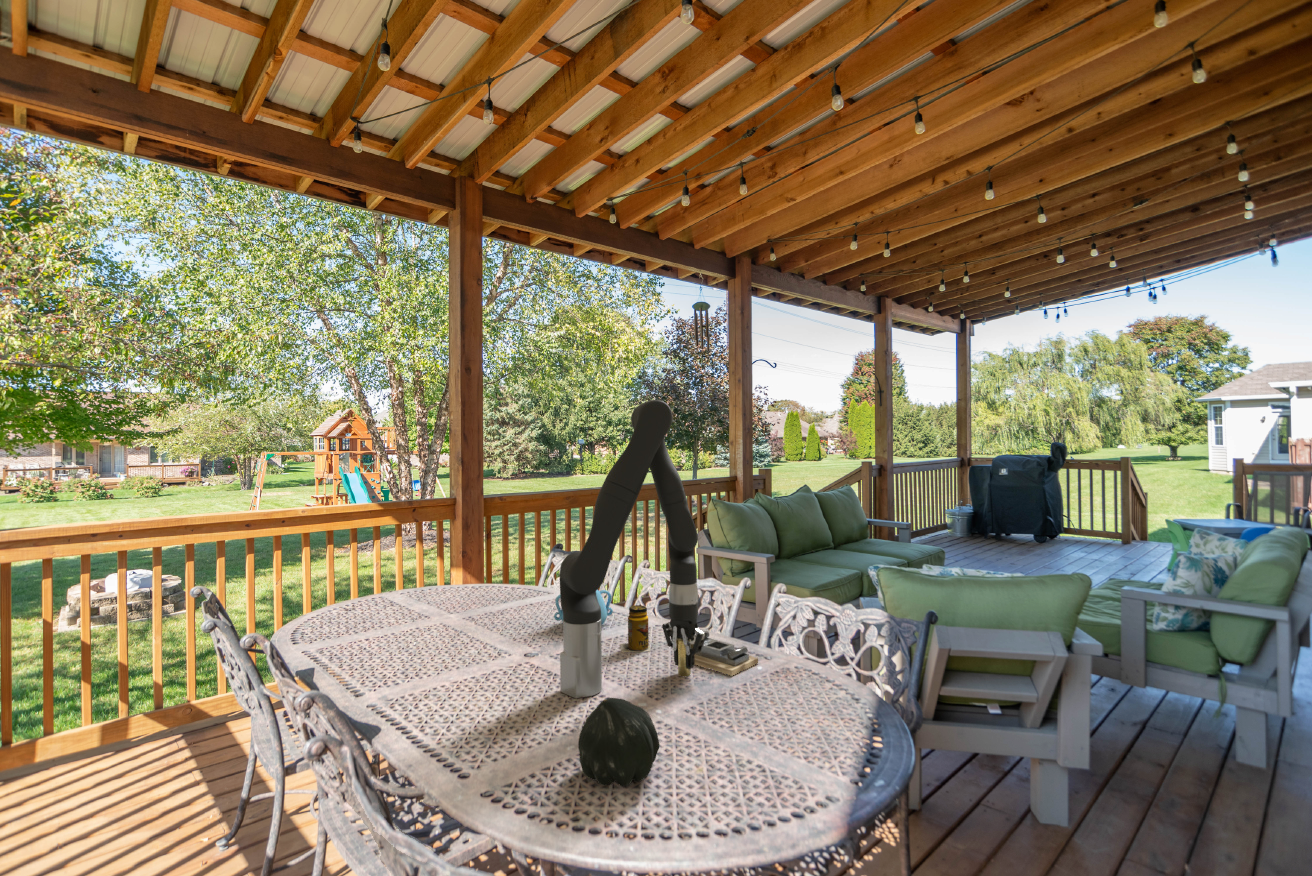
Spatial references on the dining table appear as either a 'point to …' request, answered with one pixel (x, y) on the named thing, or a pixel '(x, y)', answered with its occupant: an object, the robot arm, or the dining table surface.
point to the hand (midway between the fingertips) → (684, 666)
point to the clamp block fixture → (723, 657)
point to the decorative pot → (600, 600)
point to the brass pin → (682, 659)
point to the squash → (618, 743)
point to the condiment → (637, 630)
